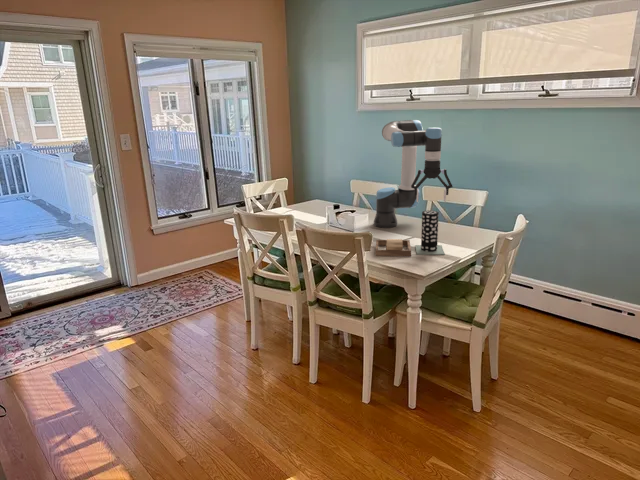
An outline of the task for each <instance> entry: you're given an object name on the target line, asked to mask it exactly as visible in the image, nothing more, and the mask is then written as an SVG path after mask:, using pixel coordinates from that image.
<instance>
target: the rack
mask: <svg viewBox="0 0 640 480" xmlns="http://www.w3.org/2000/svg"><path fill="white" fill-rule="evenodd" d="M402 241H403V247H407V248H406V249H403V250H386V249H379V246H381V247H382V246H383V247H384V246H385V247H386V244H387V239H375V257H412V247H411V241H410V239H402Z"/></svg>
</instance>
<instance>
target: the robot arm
mask: <svg viewBox="0 0 640 480" xmlns="http://www.w3.org/2000/svg"><path fill="white" fill-rule="evenodd" d="M442 133H443V132H442V128H441V127H433V126H432V127H427V128H426V129H424V128H423V124H422V121H420V120H418V119H407V120H394V121H390V122H388V123H386V124H384V126H383V127H382V130H381V135H382V137H383V139H384V140H386V141H388V142H390V143H391V147H395V148H401V147H402V148H401V169H400V170H401V171H400V174H401V175H400V185H398V187H397V188H398V189H396V188H395V187H383V188H380V189H378V190H377V191H376V195H375V200H376V201H375V202H376V209H375V210H376V211H375V216H374V220H373V226H374V227H377V228H384V229H385V228H386V229H387V228H389V229H391V228H394V227H396V226H398V218H397V216H396V209H412V208H416V207H418V205H419V203H420V199H421V192H420V189H419V187H421V185H422V184H423V183H424V182H425V181H426V180H427V179H438V180H439V181H440V183H441V184H442V185H443V186H444V189H443V203H446V202H447V196H449V189H451V188H453V187H454V186H453V184H452V181H451V180H450V178H449V175H448V172H447V170H448V169H446V168H443V169H441V154H442V152H441V151H442V150H441V149H442V136H443V134H442ZM422 146H424V148H425V149H424V159H425V160H424V168H423V169H418V170H417V174H416V167H417V149H418V148H417V147H422ZM423 173H424V175H423V177H422V178H421V179H420V180H419V178H420V177H421V175H422V174H423ZM441 173H442V174H443V175H444V177H445V180H446V182H447V183H448V184H447V183H446V182H445V181H444V180H443V179H442V177H441V176H440V174H441Z"/></svg>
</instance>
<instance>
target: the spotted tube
mask: <svg viewBox="0 0 640 480" xmlns="http://www.w3.org/2000/svg"><path fill="white" fill-rule="evenodd" d="M439 213H440V212H439V211H438V210H424V211H422V212H421V237H420V239H421V241H420V245H421V250H423V251H427V252H433V251H436V250H437V245H438V243H439V242H438V239H439V237H438V236H439V215H440V214H439Z"/></svg>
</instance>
